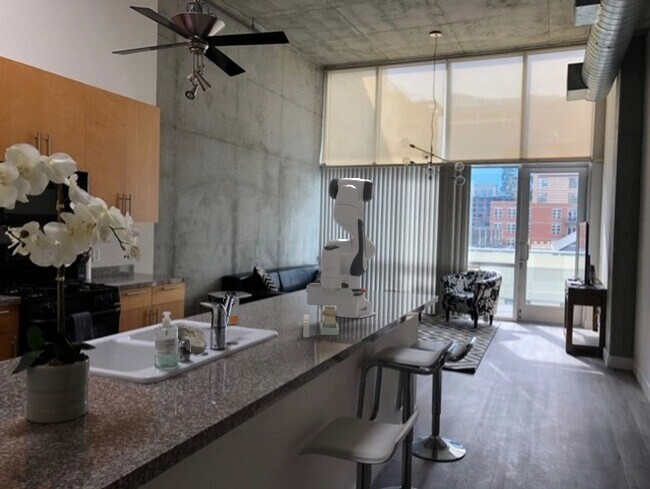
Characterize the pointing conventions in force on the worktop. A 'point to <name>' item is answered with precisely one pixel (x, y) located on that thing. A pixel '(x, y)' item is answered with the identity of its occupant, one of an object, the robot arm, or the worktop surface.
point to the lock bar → (329, 315)
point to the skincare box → (234, 312)
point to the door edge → (306, 326)
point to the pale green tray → (329, 329)
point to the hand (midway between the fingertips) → (329, 315)
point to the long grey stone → (193, 338)
